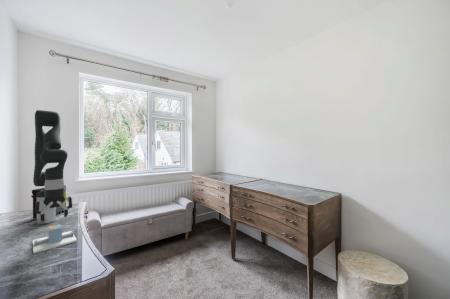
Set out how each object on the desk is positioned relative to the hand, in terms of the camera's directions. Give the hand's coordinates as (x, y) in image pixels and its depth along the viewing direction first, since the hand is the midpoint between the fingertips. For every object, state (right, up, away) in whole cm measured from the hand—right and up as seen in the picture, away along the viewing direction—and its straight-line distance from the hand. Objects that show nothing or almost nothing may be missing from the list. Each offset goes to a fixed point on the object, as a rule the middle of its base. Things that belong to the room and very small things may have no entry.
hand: (54, 218), depth 100 cm
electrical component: (-40, -12, +42) cm, 59 cm away
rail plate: (0, -12, 0) cm, 12 cm away
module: (0, -11, 0) cm, 11 cm away
